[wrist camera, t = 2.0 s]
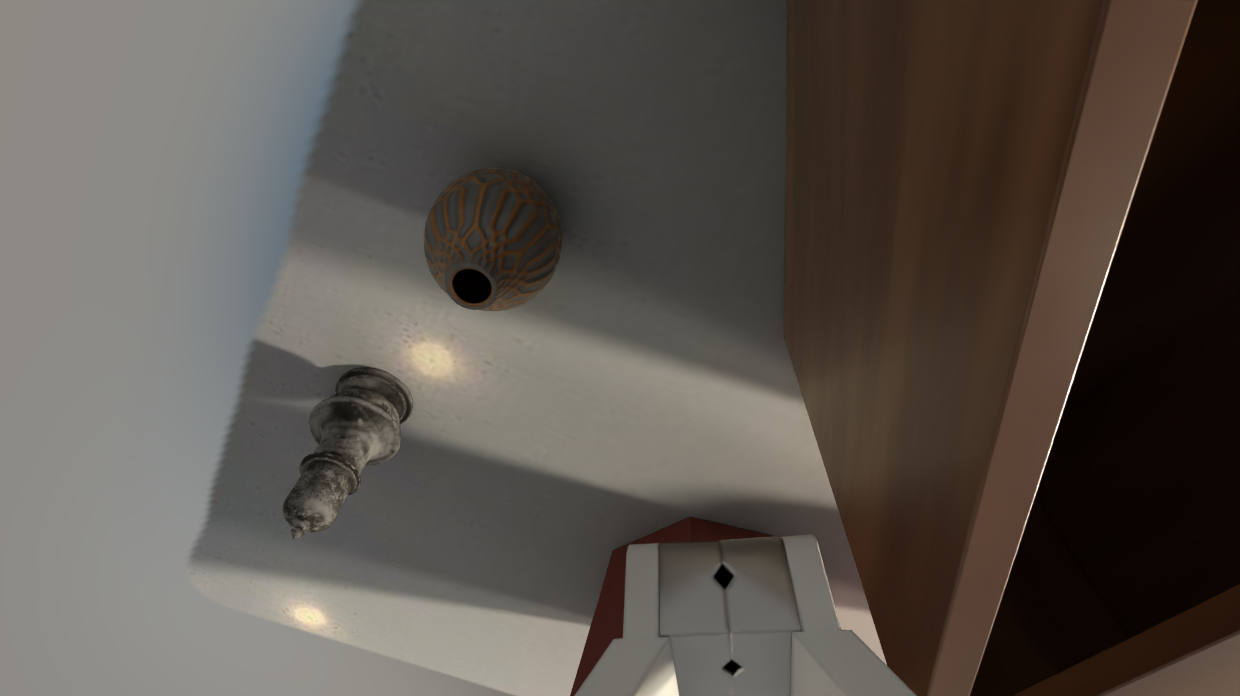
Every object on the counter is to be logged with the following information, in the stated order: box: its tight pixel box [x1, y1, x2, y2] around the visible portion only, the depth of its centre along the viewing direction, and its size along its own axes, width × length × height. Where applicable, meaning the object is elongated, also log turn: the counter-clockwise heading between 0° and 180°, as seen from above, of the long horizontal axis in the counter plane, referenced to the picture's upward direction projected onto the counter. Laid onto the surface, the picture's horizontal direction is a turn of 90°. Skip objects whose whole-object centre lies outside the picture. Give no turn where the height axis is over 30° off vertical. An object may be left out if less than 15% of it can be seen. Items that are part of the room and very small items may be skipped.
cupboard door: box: [784, 0, 1198, 696], centre depth 23 cm, size 6×26×24 cm, turn 8°
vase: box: [424, 168, 562, 311], centre depth 32 cm, size 7×7×9 cm
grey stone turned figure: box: [282, 368, 413, 539], centre depth 39 cm, size 6×6×12 cm
